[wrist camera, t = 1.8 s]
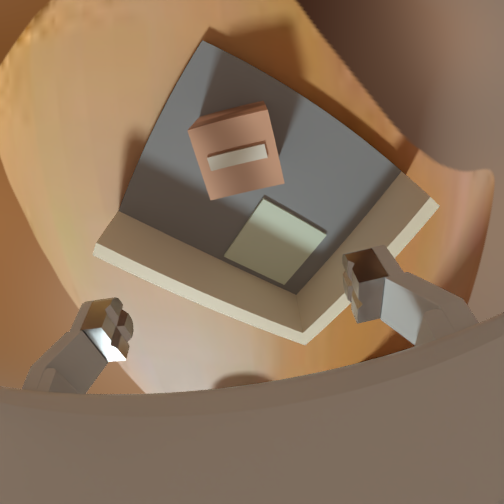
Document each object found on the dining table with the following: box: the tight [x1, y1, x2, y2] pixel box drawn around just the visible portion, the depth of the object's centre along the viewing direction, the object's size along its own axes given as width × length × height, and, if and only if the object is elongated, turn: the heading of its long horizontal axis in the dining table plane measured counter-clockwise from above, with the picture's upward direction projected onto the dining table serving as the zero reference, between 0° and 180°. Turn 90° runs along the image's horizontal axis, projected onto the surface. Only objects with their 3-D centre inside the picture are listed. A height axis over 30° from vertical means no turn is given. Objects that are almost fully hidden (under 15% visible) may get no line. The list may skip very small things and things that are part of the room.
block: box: [187, 101, 285, 200], centre depth 23 cm, size 6×6×6 cm
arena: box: [93, 40, 440, 345], centre depth 26 cm, size 23×20×7 cm
